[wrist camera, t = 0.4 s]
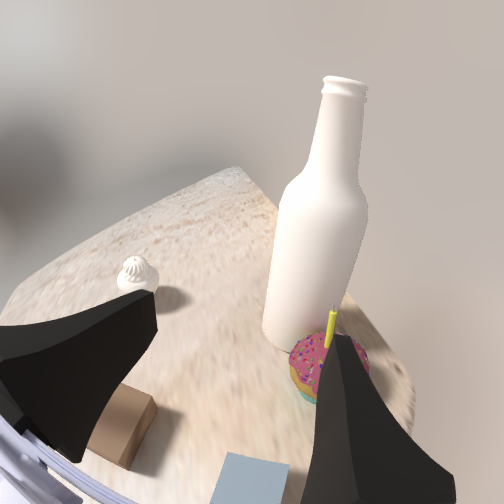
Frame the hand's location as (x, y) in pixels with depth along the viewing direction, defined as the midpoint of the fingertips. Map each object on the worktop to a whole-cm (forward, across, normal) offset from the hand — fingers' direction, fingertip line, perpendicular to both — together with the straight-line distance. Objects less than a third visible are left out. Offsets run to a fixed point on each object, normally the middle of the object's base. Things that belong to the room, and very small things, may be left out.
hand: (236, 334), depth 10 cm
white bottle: (+22, -3, +16) cm, 28 cm away
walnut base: (+2, +13, +20) cm, 24 cm away
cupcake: (+14, -7, +18) cm, 24 cm away
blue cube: (0, -2, +20) cm, 20 cm away
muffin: (+20, +19, +16) cm, 32 cm away
